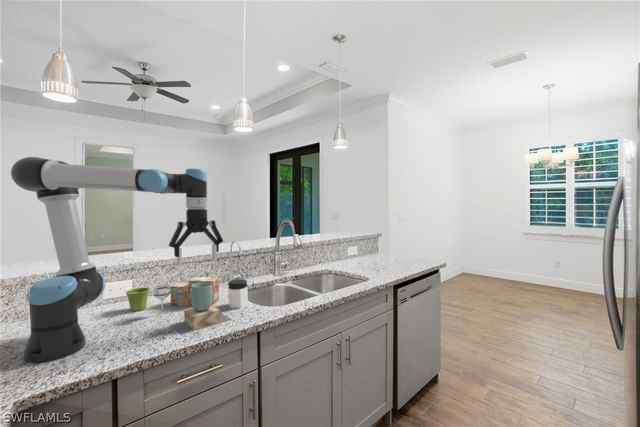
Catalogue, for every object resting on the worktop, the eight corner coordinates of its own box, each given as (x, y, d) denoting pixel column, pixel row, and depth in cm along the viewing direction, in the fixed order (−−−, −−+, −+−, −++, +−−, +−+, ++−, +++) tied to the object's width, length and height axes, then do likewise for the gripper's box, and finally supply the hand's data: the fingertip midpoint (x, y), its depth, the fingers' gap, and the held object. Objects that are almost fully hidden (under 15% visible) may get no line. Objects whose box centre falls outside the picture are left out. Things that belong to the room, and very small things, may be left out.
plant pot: (121, 311, 134) (120, 292, 133) (139, 304, 143) (138, 286, 142) (137, 313, 131) (136, 294, 131) (154, 306, 140) (154, 288, 140)
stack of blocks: (170, 305, 141) (169, 279, 141) (177, 301, 148) (177, 276, 147) (213, 306, 139) (213, 280, 139) (219, 302, 146) (219, 277, 145)
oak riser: (193, 329, 112) (193, 316, 111) (184, 322, 119) (184, 309, 119) (219, 322, 118) (219, 309, 118) (209, 315, 126) (208, 303, 126)
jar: (249, 308, 136) (249, 282, 136) (231, 311, 132) (231, 285, 132) (244, 302, 144) (244, 278, 144) (227, 305, 140) (226, 280, 140)
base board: (180, 337, 108) (180, 334, 107) (170, 327, 116) (170, 325, 116) (232, 321, 121) (232, 319, 121) (219, 313, 130) (219, 311, 130)
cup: (206, 304, 124) (206, 280, 124) (216, 309, 119) (216, 284, 119) (188, 310, 118) (187, 285, 118) (197, 314, 113) (197, 288, 113)
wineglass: (171, 310, 134) (171, 284, 134) (170, 315, 128) (169, 288, 128) (154, 312, 132) (153, 286, 131) (152, 318, 126) (151, 290, 125)
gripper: (165, 209, 105) (166, 269, 106) (231, 208, 123) (231, 259, 123) (159, 209, 111) (160, 265, 112) (222, 208, 128) (223, 257, 129)
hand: (197, 262), depth 118 cm, fingers open, 13 cm apart
